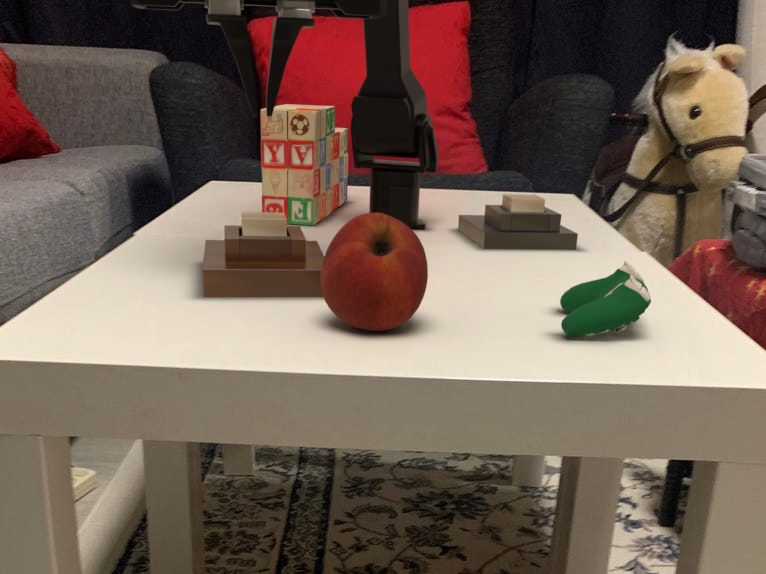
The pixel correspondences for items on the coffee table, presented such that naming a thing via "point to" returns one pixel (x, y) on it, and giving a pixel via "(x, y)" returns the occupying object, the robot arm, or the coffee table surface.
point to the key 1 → (263, 224)
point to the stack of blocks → (303, 162)
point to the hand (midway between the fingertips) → (261, 115)
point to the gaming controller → (605, 303)
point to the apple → (374, 272)
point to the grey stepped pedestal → (517, 230)
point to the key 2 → (523, 203)
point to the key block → (262, 265)
